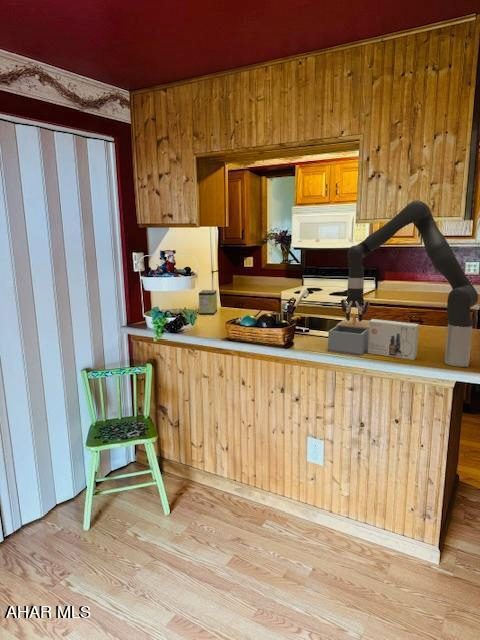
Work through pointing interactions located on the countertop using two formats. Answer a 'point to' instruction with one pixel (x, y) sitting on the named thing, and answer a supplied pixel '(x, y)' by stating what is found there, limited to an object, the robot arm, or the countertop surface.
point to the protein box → (207, 302)
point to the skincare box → (393, 338)
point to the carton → (348, 340)
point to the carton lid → (354, 322)
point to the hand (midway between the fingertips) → (354, 320)
